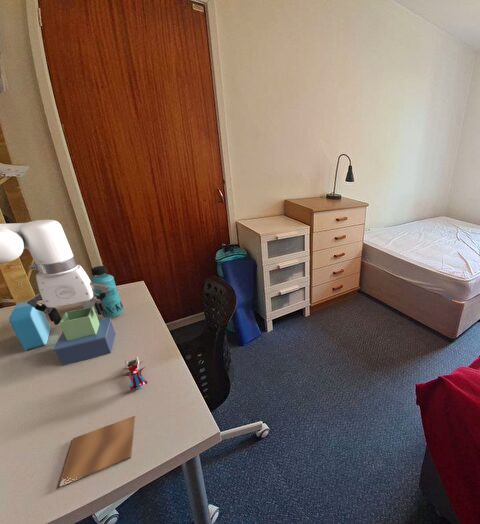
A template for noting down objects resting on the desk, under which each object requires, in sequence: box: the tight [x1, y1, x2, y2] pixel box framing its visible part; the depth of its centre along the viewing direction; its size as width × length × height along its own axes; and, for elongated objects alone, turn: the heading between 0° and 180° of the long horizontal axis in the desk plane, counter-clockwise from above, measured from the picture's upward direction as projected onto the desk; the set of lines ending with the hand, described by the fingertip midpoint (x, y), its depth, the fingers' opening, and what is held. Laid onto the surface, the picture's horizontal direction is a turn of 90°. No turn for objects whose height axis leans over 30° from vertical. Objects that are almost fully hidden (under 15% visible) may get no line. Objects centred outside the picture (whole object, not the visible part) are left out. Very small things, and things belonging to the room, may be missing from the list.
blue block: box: [52, 317, 116, 367], centre depth 87 cm, size 11×11×6 cm
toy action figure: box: [122, 356, 149, 392], centre depth 76 cm, size 5×12×6 cm, turn 42°
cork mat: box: [60, 415, 136, 484], centre depth 60 cm, size 11×11×1 cm
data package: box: [8, 300, 51, 351], centre depth 88 cm, size 12×4×12 cm, turn 39°
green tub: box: [59, 307, 100, 341], centre depth 84 cm, size 6×6×6 cm
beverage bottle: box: [90, 265, 124, 319], centre depth 100 cm, size 6×7×20 cm
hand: (80, 317), depth 84 cm, fingers open, 9 cm apart
